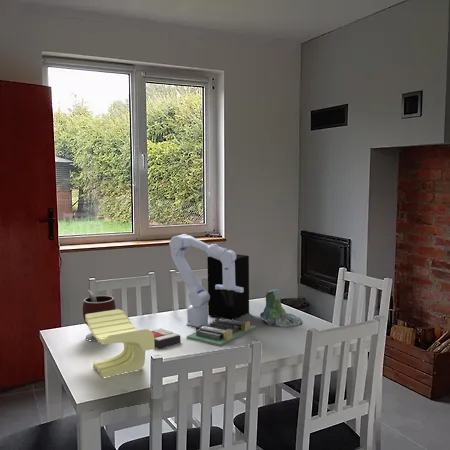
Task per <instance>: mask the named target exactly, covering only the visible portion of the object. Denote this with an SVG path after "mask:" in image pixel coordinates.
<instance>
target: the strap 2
mask: <svg viewBox="0 0 450 450" xmlns="http://www.w3.org/2000/svg"><path fill="white" fill-rule="evenodd" d="M218 321H222V322H227V323H232V324H238V325H241V323H242V322H243V321H242V320H241V321H240V320H236V319H233V320H230V319H224V318H222V319H219V320H218Z"/></svg>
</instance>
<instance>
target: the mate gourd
mask: <svg viewBox="0 0 450 450" xmlns="http://www.w3.org/2000/svg"><path fill="white" fill-rule="evenodd" d="M86 292H88V294H89V297H86V298H84V299H83V303H82V304H83V305H82V316H83V320H84V324H86V326H87V327H88V328H90V327H89V326H88V322H86V319H85V314H90V313H97V312H103V311H110V310H117V308H116V302H115V297H114V296H110V295H95V294H94V292H92V291H91V290H89V289H87V291H86ZM86 339H88V340H91V341H98V340H97V339H96V338H95V337H94V336H93V335H92V332H91V333H89V334H87V335H86V336H85V340H86ZM88 340H87V341H88ZM91 341H90V342H91Z"/></svg>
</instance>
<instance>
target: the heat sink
mask: <svg viewBox="0 0 450 450" xmlns="http://www.w3.org/2000/svg"><path fill="white" fill-rule="evenodd" d="M219 319H222V317H219V318H218V317H216V318H214V321H212V322H211V323H210V325H208V326H207V327H212V328H217V329H222V330H225V331H223V334H222V333H217V332H212V331H207V330H202V329H200V327H203V326H204V325H200V326H198V327H196V326H195V330H196V331H195V332H196V336H200V337H205V338H209V339H214V340H218V341H219V340H221V339H223V340H229V339H231V338H232V334H233V333H235V332H237V331H240V330H241V331H244V332H245V331H247V330H249V329H250V321H249V320H245V321H241V322H242V323H241V325H238V324H232V323H227V322H222V321H218V320H219Z"/></svg>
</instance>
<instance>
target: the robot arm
mask: <svg viewBox="0 0 450 450" xmlns="http://www.w3.org/2000/svg"><path fill="white" fill-rule="evenodd" d="M168 246H169V247H170V256H171V259H172V261H173V263H174V264H175V266H176V268H177V270H178V272H179V274H180V276H181V277H182V279H183V281H184V284H185V285H186V287H187V289H188V293H187V294H188V297H189V302H190V305H189V306H188V308H187V315H186V316H187V323H186V325H187V326H191V327H192V326H193V327H195V328H196V327H198V326H200V325H204V326H209V325H210V323H212V322H211V321H209V315H208V301H209V300H210V295H209V293H208V290H206V289H205V288H204V286H202V285H201V284H199V282H198V279H197V278H196V276H195V274H194V272H193V270H192V269H191V267H190V264H189V263H188V261H187V259H186V257H185V253H186V250H187V249H188V247H193V248H195V249H198V250H201V251H203V252H206V254H207V255H208V257H210V256H211V257H213V258H216V259H218V260H220V261H221V262H222V270H223V285H219V284H217V285H215V289H221V290H223V291H221V294H222V295H223V297H224V300H225V303H226V306H229V307H232V306H233V303H234V299H235V296H236V294H237V293H238V292H240V293H242V292H244V288H242V287H238V286H236V285H235V260H236V252H235V251H234V250H232V249H227V247H222V246H219V244H218V243H211V244H207V243H206V242H204V241H202V240H200V239H197V238H196V237H194V236H192V235H188V234H187V233H182V234H180V235H174V236H172V237H171V238H170V241H169V244H168Z"/></svg>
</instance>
